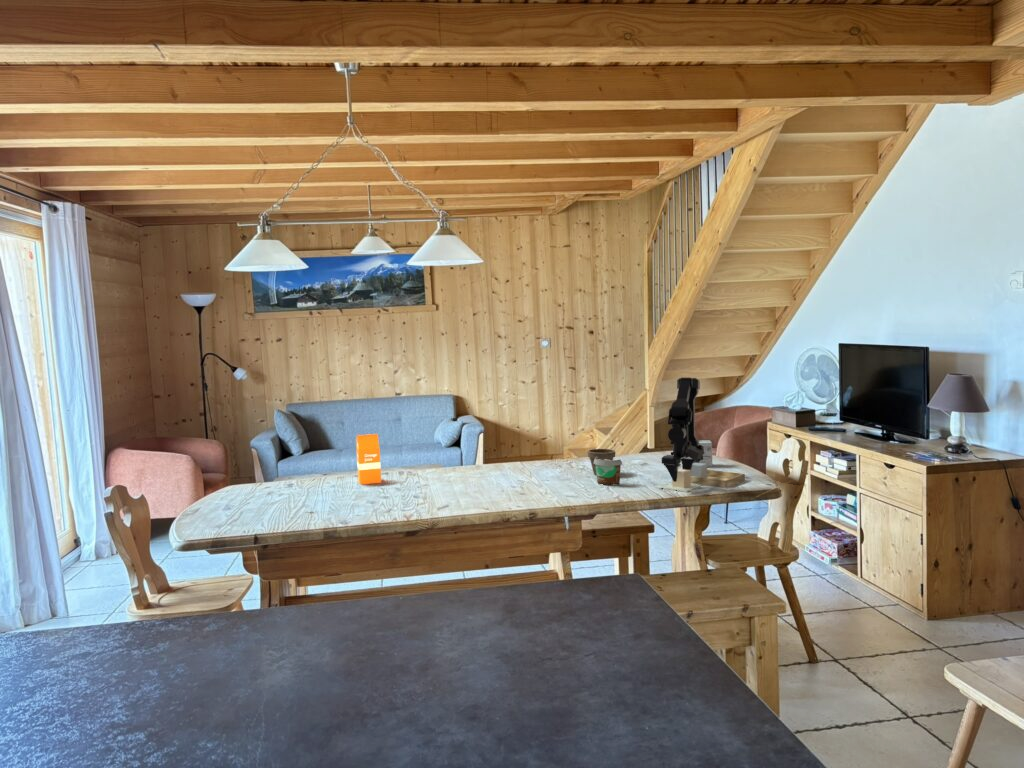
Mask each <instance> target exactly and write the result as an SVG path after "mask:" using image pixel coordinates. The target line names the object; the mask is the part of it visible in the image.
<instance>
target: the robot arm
mask: <svg viewBox="0 0 1024 768" xmlns="http://www.w3.org/2000/svg"><path fill="white" fill-rule="evenodd" d="M676 389H678V390H677V395H676V400H675V401H673V402H671V407H670V408H669V410H668V418H667V419H668V420H667V425H668V426H669V425H671V428H670V429H669V430H668V433H667V436H668V439H669V441H670V445H672V451H671V452H670V454H666V455H663V456H662V457H661V464H663V466H664V467H665V468H666V470H667V472H668V473H669V475H670V477H671V480H672V479H673V481H674V482H676V481H677V472H678V469H679V468H680V466H681V465H682V468H681V469H685V470H691V468H692V465H693V463H700V461H701V460H703V454H704V447H703V446H702V445H699V441H700V440H699V438H698V437H697V435H696V412H695V411H696V410H695V407H696V406H695V399H696V398H697V396H698V394H699V390H700V389H701V381H700V379H698V378H696V377H679V378H678V379H677V380H676Z"/></svg>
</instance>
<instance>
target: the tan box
mask: <svg viewBox="0 0 1024 768" xmlns="http://www.w3.org/2000/svg"><path fill="white" fill-rule="evenodd" d="M671 483H672V487H679V488H686V487H689V486H691V484H692V483H691V470H685V469H682V468H678V472H677V481H676V482H674V481H673V479H672V478H671Z"/></svg>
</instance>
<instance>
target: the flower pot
mask: <svg viewBox="0 0 1024 768" xmlns="http://www.w3.org/2000/svg"><path fill="white" fill-rule="evenodd" d="M587 457H588V458H589V460H590V463H591V468H592V472H593V474H594V475H595V476H597V474H596V465H595V464H594V459H595V457H598V459H610V460H614V458H615V457H616V450H615V449H611V448H593V449H589V450H587Z"/></svg>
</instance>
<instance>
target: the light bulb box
mask: <svg viewBox="0 0 1024 768" xmlns="http://www.w3.org/2000/svg"><path fill="white" fill-rule="evenodd" d="M699 445H702V446H703V447H704V454H703V460H701V461H700V463H704V464H707V468H712V467H713V443H712V441H711V440H710V439H708V440H705V439H703V440H701V439H700V440H699Z"/></svg>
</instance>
